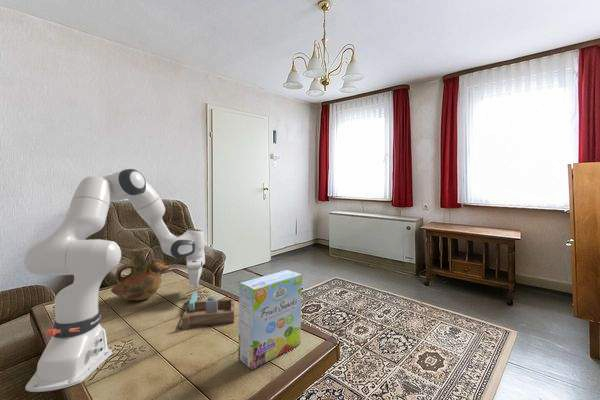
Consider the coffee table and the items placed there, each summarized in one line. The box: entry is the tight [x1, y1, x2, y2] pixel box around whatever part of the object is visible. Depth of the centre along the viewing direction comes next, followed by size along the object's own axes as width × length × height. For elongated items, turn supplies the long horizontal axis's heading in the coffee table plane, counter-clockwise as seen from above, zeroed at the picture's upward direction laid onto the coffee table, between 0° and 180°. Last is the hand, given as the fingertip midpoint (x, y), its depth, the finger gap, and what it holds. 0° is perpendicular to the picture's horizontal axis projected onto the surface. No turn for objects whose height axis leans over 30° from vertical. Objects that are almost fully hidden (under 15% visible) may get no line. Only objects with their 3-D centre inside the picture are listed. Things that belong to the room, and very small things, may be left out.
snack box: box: [237, 269, 303, 371], centre depth 96 cm, size 22×9×26 cm, turn 136°
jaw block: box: [205, 295, 219, 313], centre depth 122 cm, size 4×4×8 cm
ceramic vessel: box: [110, 248, 171, 302], centre depth 142 cm, size 17×26×25 cm, turn 123°
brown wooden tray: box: [178, 297, 235, 331], centre depth 128 cm, size 30×21×4 cm
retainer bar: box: [189, 291, 198, 311], centre depth 133 cm, size 14×2×3 cm, turn 13°
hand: (196, 287), depth 145 cm, fingers closed
